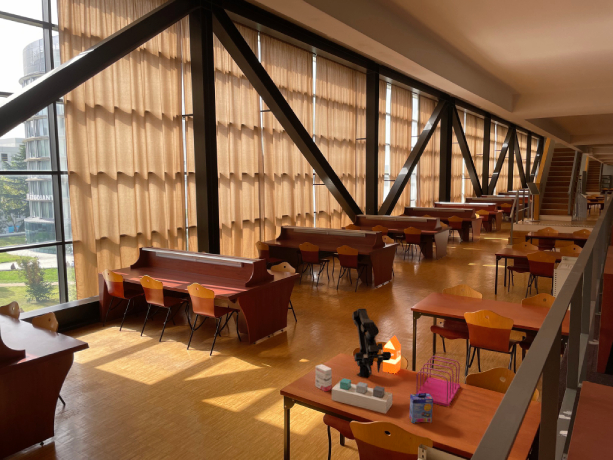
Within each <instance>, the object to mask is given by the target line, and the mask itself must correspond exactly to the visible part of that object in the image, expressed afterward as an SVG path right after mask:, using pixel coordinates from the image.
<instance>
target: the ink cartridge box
mask: <svg viewBox="0 0 613 460" xmlns="http://www.w3.org/2000/svg"><path fill="white" fill-rule="evenodd" d="M409 397H410V398H409V419H410V422H411V423H412V424H416V423H415V422H430V423H432V422H433V410H434V409H433V408H434V406H433V405H434V403H433V398H432V397H431V395H430V394H426V393H419V394H416V393H410V396H409Z"/></svg>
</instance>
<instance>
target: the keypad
mask: <svg viewBox="0 0 613 460" xmlns="http://www.w3.org/2000/svg"><path fill="white" fill-rule="evenodd" d="M340 381H341V380H339V381H338V382H337V383H336V384H335V385H334V386H332V389H331V401H335V402H339V403H341V404H343V403H344V404H347V405H351V406H353V407H358V408H362V409H366V410H371V411H373V412H377V413H382V414H387V413H388V411H389V410H390V408H391V407H392V405H393V393H392V392H390V391H389V392H388V391H384V396H383V398H378V397H374V396H373V389H374V388H373V387H368V389H367V392H366V393H365V394H361V393H357V392H356V385H357V384H355V383H351V388H350V389H349V390H345V389H340Z"/></svg>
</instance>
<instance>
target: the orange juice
mask: <svg viewBox="0 0 613 460" xmlns="http://www.w3.org/2000/svg"><path fill="white" fill-rule="evenodd" d="M382 347H383V349H382V350H383V351H382V353H383V352H390V353H391V358H390V360H383V362H382V372H384V373H388V372H389V373H388V374H392V373H394V374H393V375H396V374H397V373H398V372H399V371H400V370H401V353H402V351H401V350H402V345H401V343H400V342H399V340H398V338H397V336H396V335H394V336H392V337H391V338H390V339H388V341H387V342H386V344H384V346H382ZM395 373H396V374H395Z"/></svg>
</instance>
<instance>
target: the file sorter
mask: <svg viewBox="0 0 613 460" xmlns="http://www.w3.org/2000/svg"><path fill="white" fill-rule="evenodd" d="M435 358H436V359H435ZM437 358H438V359H437ZM440 359H443V360H440ZM445 360H447V361H445ZM432 361H437V362H441V363H445V364H449V365H453V366H454V367H455V382H454V370H453V369H452V368H451V367H450V366H445V365H441V364H436V363H432ZM450 361H453V362H455V363H457V364H455V363H453V362H450ZM457 365H458V366H457ZM425 366H426V367H425ZM432 366H435V367H442V368H447V369H450V370H451V372H452V373H450V372H449V371H446V370H440V369H436V368H432ZM460 368H461V366H460V362H459V361H458V360H455V359H451V358H447V357H442V356H437V355H433V356H431V357H430V359H429V358H428V360H427V362H426V363H424V364H423V365H422V368H421V369H420V370H419V371H418V372H417V374H416V385H415V386H416V387H415V388H416V392H415V394H419V393H426V394H430V395H431V397H432V398H433V404H434V405H438V404H439V405H440V406H442V405H444V406H443V407H446V406H449V407H450V405H451V404H450V403H452V402H453V400H454V398H455V397H456V395H457V393H458V392H459V390H460V389H461V383H460V370H461V369H460ZM425 369H426V372H425ZM432 371H436V372H440V373H445V374H448V375H449V380H448V378H447V377H446V376H445V375H441V374H436V373H432ZM451 374H452V376H451ZM419 375H420V376H419ZM425 375H426V380H425ZM431 376H436V377H442V378H443V379H445V380H443V379H440V378H435V377H431ZM418 378H419V379H418ZM418 383H419V385H418ZM418 386H419V387H418ZM458 389H459V390H458ZM457 391H458V392H457ZM455 394H456V395H455ZM454 396H455V397H454ZM452 399H453V400H452ZM451 401H452V402H451Z"/></svg>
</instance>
